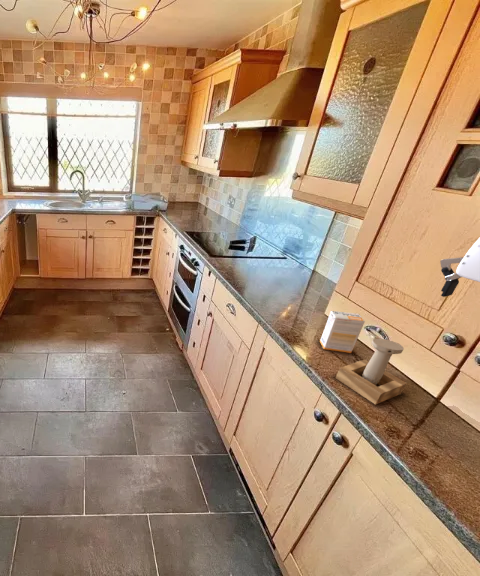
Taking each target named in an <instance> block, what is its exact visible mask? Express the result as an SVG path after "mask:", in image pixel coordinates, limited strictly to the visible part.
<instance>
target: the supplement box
mask: <svg viewBox="0 0 480 576" xmlns="http://www.w3.org/2000/svg"><path fill="white" fill-rule="evenodd" d="M365 323H366V319H364V318H363V316H362V315H360V314H359V313H354V312H344V311H337V310H330V312H329V315H328V317H327V321H326V323H325V327H324V328H323V332H322V335H321V337H320V340H319V343H320V345H321V347H322V349H323V350H326V351H334V352H340V353H347V354H352V352H353V350H354V348H355V346H356V343H357V341H358V338H359V336H360V334H361V331H362V330H363V327H364V324H365Z"/></svg>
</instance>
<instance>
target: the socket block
mask: <svg viewBox="0 0 480 576" xmlns="http://www.w3.org/2000/svg"><path fill="white" fill-rule="evenodd" d="M369 361H370V360H367V359H361V360H358V361H355V362H353V363H350V364H347V365H344V366H342V367H339V368H338V371H337V373H336V376H335V379H336V380H338V381H339V382H341V383H342V384H344V385H345V386H347V387H348V388H350V389H351V390H353V391H354V392H356V393H357V394H358V395H360V396H362V397H363V398H365V399H367V401H369V402H371V403H372V404H374V405H378V404H380V403H383V402H385V401H388V400H390V399H392V398H394V397H397V396H399V395H402V392H403V391H404V390H405V388H406V387H407V384H408V383H407V382H406V381H404V380H402V379H400V378H399V377H397V376H395V375H393V374H392V373H390V372H388V371H386V370H385V372H384V374H383V376H382V378H381V379H380V381H379V382H378V383H377V384H376V385H374V384H372V383H371V382H369V381H367V380H366V379H364V378H363V377H362V375H363V372H364V370H365V368H366V366H367V364H368V363H369ZM377 385H378V386H377Z"/></svg>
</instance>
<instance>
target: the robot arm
mask: <svg viewBox="0 0 480 576" xmlns="http://www.w3.org/2000/svg"><path fill="white" fill-rule="evenodd" d="M439 263H440V268H441V269H440V271H441V273H442V275H443V276H444V280H445V283H444V284H443V287H442V288H441V291H440V292H442V293H441V294H440V296H441V297H443V298H446V297H449V296H452V295H453V294H454V292H455V290H456V289H457V288H458V285H459V283H460V280H459V279H461V278H464V279H468V280H471V281H474V282H476V283H477V282H478V283H480V237H478V239H477V240H475V242H473V244H472V246H471V247H470V248H469V249H468V251H467V252H466V253H465V255H464V256H460V257H459V256H458V257H450V258H449V257H448V258H443V259H440V262H439ZM453 264H458V265H457V268H456V269H455V271H454V270H453V268H452V265H453Z"/></svg>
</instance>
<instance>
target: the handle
mask: <svg viewBox="0 0 480 576" xmlns="http://www.w3.org/2000/svg"><path fill="white" fill-rule="evenodd" d="M371 345H372V347H373V348H374V349H375V351H374V352H373V354H372V356H371V358H370V359H369V360H368V361H369V363H368V364H367V366H366V368H365V370H364V372H363V375H361V377H363V378H364V379H366V380H367V381H369V382H371V383H372V384H374V385H376V386H377V385H378V384H377V383H378V382H379V381H380V379H381V378H382V376H383V374H384V372H385V371H386V369H387V366H388V364H389V362H390V359H391V357H392V356H393V355H400V354H402V353H403V351H404V350H405V348H404V346H403V345H402V344H400V343H398V342H396V341H393V340H390V339H384V338H372V340H371Z"/></svg>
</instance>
